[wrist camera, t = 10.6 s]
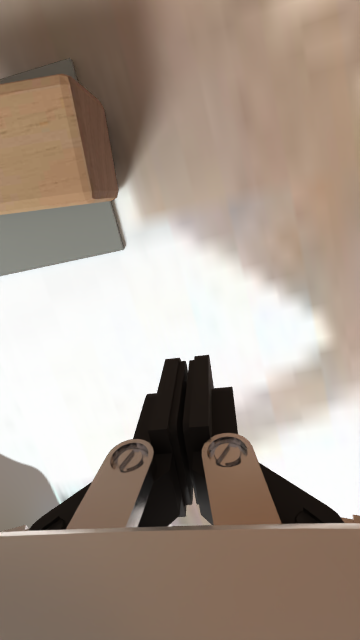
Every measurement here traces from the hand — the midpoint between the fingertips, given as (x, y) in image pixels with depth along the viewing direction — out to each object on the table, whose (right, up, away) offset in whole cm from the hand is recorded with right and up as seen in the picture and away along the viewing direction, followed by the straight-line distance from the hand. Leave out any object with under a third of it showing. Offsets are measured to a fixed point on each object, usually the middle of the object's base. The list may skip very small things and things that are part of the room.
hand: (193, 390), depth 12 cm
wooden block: (-8, +20, +19) cm, 29 cm away
